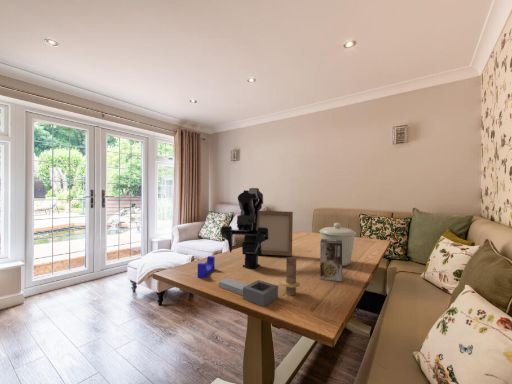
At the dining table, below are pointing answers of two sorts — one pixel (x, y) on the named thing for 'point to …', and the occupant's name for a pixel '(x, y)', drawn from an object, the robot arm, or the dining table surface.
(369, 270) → the dining table surface
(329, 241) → the coffee box
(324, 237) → the canister
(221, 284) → the hitch block
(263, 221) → the photo frame
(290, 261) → the walnut pin
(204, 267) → the blue arched block
